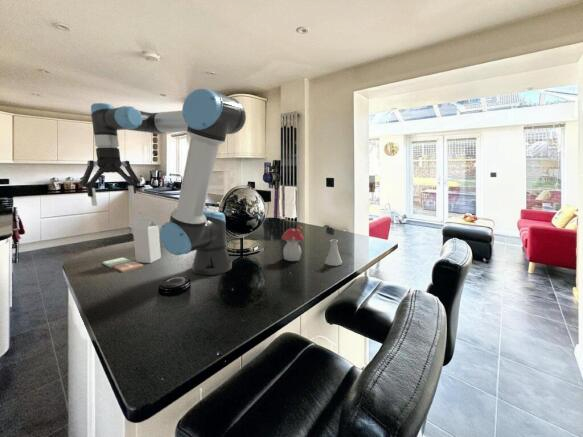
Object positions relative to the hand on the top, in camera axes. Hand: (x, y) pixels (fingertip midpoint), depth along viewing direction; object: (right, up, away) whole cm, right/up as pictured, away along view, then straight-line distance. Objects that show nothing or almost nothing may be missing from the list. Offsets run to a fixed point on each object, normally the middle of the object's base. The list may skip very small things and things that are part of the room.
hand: (114, 203), depth 115 cm
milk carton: (+7, -24, +14) cm, 29 cm away
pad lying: (+3, -26, +5) cm, 26 cm away
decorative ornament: (+69, -24, +15) cm, 75 cm away
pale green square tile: (-5, -25, +10) cm, 27 cm away
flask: (+86, -25, +9) cm, 90 cm away
